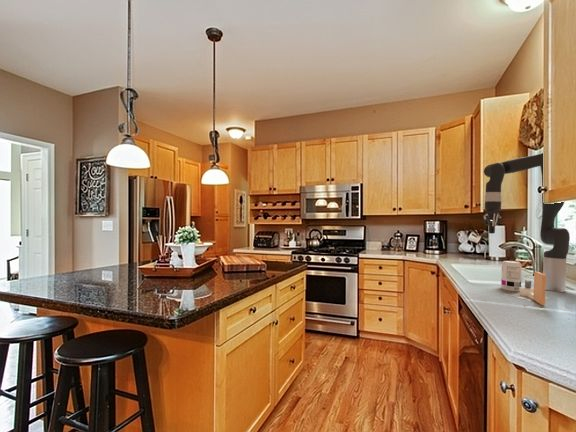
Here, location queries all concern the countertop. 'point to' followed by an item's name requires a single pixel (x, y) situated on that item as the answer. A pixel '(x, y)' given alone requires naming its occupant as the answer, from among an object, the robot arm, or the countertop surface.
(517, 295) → the base plate
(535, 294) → the wooden panel stand
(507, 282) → the supplement can
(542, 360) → the countertop surface
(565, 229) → the robot arm
